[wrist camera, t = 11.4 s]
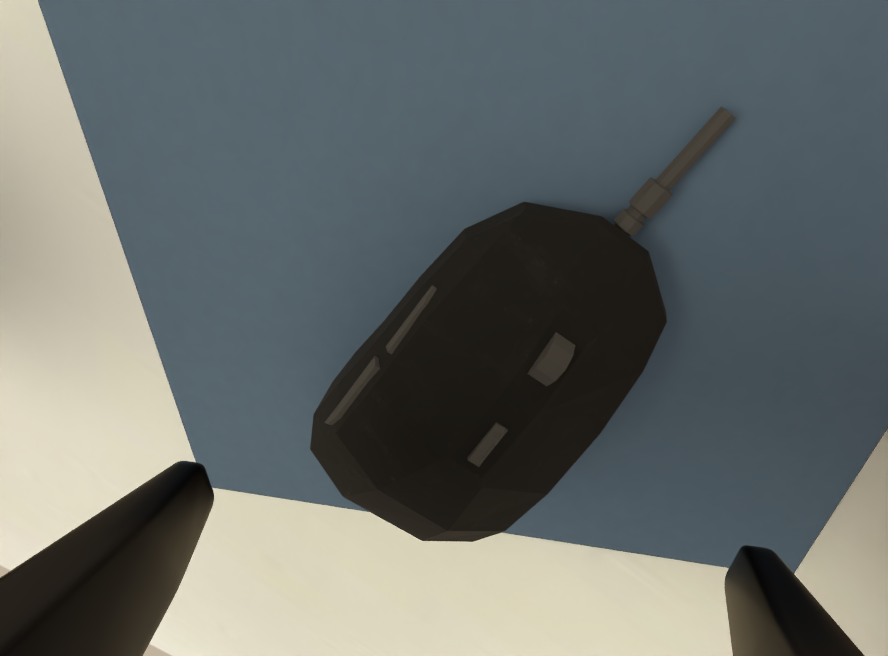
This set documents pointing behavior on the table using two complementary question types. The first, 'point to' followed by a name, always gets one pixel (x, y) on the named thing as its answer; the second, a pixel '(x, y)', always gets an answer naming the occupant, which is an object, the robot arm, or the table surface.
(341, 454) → the gaming mouse
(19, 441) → the table surface
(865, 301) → the mouse pad
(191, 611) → the table surface
